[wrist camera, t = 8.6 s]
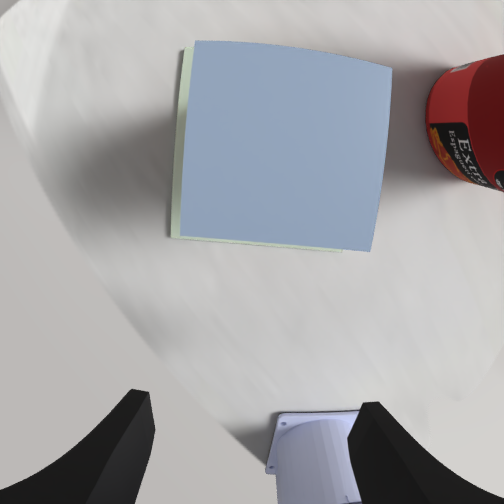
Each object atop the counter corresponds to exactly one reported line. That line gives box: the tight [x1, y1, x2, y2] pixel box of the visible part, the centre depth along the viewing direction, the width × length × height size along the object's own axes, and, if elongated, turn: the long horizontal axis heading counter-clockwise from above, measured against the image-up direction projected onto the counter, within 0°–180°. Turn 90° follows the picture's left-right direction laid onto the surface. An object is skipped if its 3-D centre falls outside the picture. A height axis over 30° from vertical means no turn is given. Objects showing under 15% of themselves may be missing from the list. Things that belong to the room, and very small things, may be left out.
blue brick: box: [180, 41, 392, 252], centre depth 10 cm, size 5×5×5 cm
